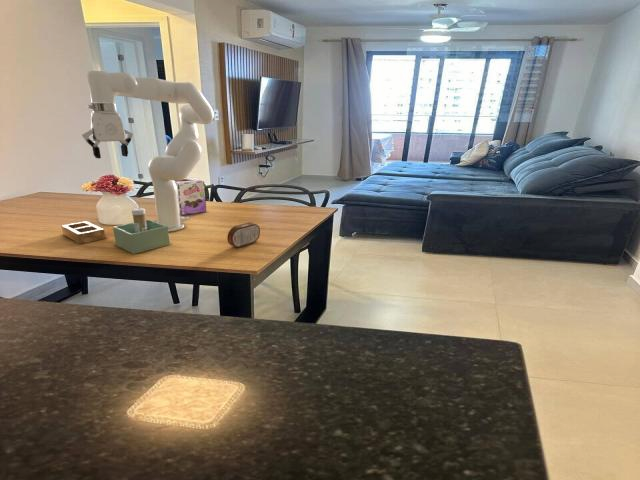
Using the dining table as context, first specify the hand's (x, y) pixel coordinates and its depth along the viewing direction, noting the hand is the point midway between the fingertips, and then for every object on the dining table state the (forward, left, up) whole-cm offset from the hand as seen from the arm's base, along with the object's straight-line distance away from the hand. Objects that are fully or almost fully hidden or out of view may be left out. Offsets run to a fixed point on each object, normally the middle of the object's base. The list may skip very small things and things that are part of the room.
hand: (111, 157), depth 142 cm
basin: (-3, +9, -33) cm, 35 cm away
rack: (+8, -18, -33) cm, 39 cm away
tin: (-30, +38, -34) cm, 59 cm away
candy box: (-44, -20, -34) cm, 59 cm away
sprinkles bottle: (-3, +9, -32) cm, 34 cm away
